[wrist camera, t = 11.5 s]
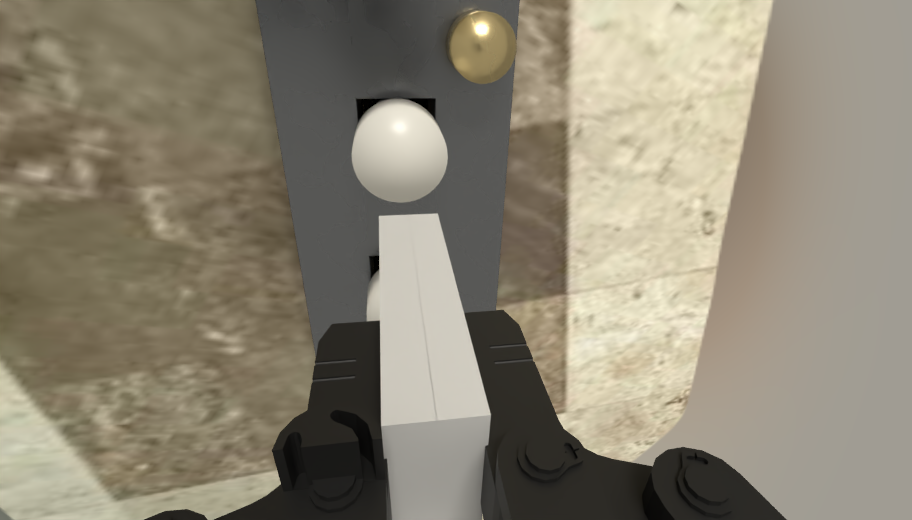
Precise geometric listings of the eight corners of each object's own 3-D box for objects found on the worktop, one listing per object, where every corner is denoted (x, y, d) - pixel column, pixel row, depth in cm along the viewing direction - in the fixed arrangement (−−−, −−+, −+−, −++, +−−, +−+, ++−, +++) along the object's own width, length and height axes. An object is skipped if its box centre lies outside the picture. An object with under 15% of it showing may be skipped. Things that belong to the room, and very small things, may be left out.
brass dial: (445, 9, 22) (451, 10, 20) (508, 10, 22) (519, 11, 20) (445, 77, 23) (450, 83, 22) (504, 77, 24) (513, 83, 22)
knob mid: (355, 80, 27) (347, 109, 20) (431, 80, 27) (448, 108, 21) (361, 154, 29) (355, 204, 22) (431, 153, 30) (447, 200, 23)
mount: (243, -230, 21) (206, -288, 16) (508, -208, 22) (539, -256, 18) (324, 318, 35) (317, 363, 31) (479, 308, 37) (492, 349, 33)
